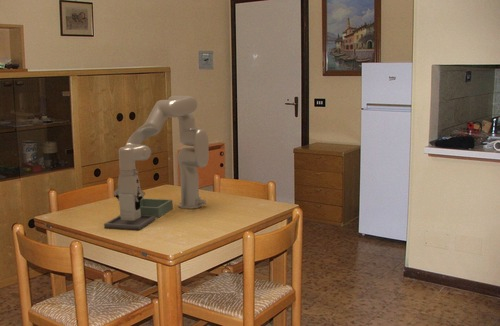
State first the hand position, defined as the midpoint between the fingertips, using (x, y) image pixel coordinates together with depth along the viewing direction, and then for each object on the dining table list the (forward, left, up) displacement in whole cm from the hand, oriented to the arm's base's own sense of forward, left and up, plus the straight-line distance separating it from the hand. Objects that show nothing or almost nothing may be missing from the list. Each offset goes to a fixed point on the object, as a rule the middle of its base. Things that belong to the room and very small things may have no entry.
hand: (130, 208), depth 276 cm
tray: (0, 0, -8) cm, 8 cm away
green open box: (0, -22, -8) cm, 23 cm away
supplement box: (0, 0, -5) cm, 5 cm away
